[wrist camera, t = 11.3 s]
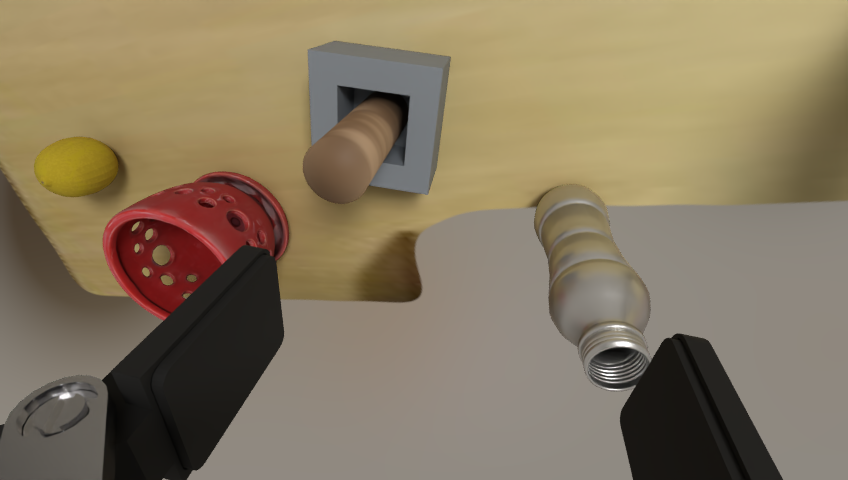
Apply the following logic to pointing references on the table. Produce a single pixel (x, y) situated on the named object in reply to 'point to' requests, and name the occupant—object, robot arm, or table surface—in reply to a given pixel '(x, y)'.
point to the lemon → (76, 166)
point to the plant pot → (191, 236)
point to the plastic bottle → (593, 288)
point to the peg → (355, 148)
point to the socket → (393, 73)
